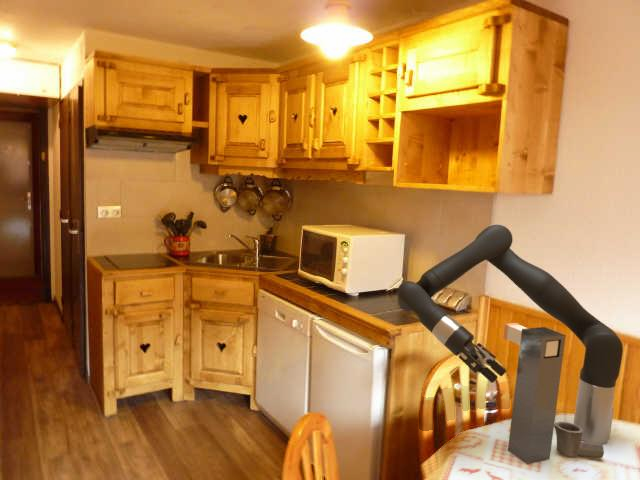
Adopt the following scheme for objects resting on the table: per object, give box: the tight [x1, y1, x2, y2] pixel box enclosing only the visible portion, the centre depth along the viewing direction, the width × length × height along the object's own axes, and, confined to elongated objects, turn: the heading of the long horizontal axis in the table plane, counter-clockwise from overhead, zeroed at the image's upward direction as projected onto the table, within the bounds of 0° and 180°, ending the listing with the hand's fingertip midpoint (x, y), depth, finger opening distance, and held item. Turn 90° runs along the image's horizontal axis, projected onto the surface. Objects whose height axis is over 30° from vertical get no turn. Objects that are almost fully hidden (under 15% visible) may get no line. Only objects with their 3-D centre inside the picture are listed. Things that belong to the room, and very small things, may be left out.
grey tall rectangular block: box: [507, 326, 566, 465], centre depth 133 cm, size 8×7×35 cm
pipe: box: [554, 421, 605, 459], centre depth 137 cm, size 6×13×8 cm, turn 78°
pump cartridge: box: [503, 322, 558, 357], centre depth 135 cm, size 4×15×4 cm, turn 22°
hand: (499, 377), depth 132 cm, fingers open, 8 cm apart
